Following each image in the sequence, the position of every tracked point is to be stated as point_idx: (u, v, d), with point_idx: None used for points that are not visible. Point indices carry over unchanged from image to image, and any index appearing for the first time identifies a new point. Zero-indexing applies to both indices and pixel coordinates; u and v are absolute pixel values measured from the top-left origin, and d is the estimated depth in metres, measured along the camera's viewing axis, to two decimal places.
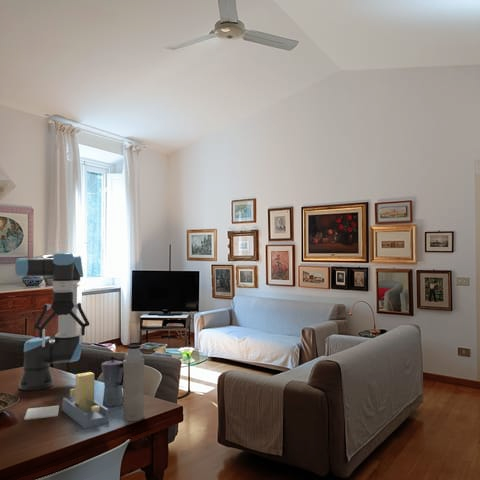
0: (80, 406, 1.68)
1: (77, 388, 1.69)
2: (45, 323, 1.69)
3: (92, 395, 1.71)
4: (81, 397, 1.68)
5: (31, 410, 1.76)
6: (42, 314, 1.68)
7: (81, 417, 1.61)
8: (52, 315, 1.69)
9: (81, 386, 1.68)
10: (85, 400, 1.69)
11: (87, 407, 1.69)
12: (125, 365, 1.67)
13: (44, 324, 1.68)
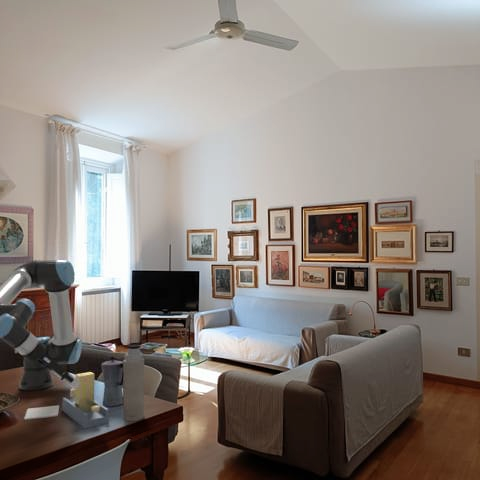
0: (80, 406, 1.68)
1: (77, 388, 1.69)
2: None
3: (92, 395, 1.71)
4: (81, 397, 1.68)
5: (31, 410, 1.76)
6: None
7: (81, 417, 1.61)
8: None
9: (81, 386, 1.68)
10: (85, 400, 1.69)
11: (87, 407, 1.69)
12: (125, 365, 1.67)
13: None
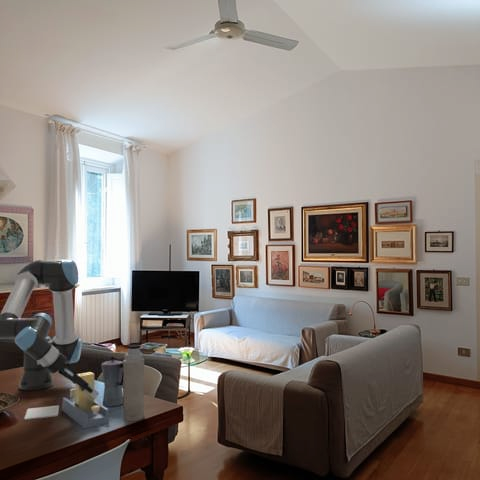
0: (80, 406, 1.68)
1: (77, 388, 1.69)
2: (72, 381, 1.71)
3: None
4: (81, 397, 1.68)
5: (31, 410, 1.76)
6: None
7: (81, 417, 1.61)
8: None
9: None
10: (85, 400, 1.69)
11: (87, 407, 1.69)
12: (125, 365, 1.67)
13: (73, 382, 1.71)
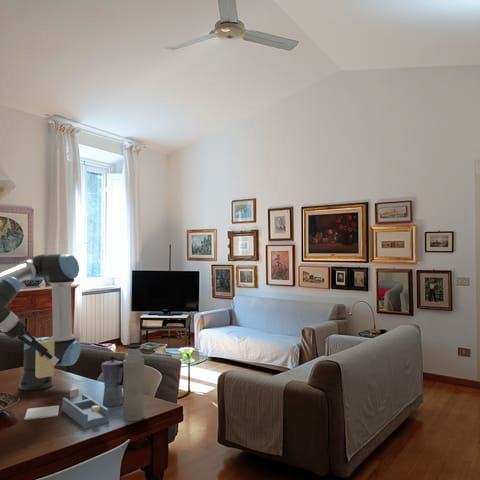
0: (39, 372, 1.72)
1: (37, 354, 1.73)
2: (33, 348, 1.75)
3: None
4: (41, 363, 1.73)
5: (31, 410, 1.76)
6: None
7: (81, 417, 1.61)
8: (26, 343, 1.73)
9: None
10: (44, 366, 1.73)
11: (46, 373, 1.74)
12: (125, 365, 1.67)
13: (34, 349, 1.76)
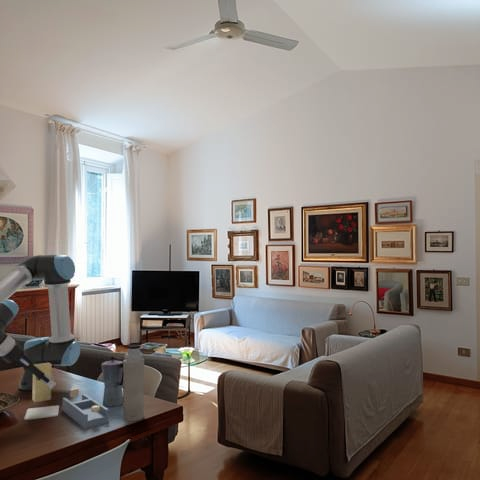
0: (36, 396, 1.71)
1: (34, 378, 1.72)
2: None
3: None
4: (38, 386, 1.72)
5: (31, 410, 1.76)
6: (22, 365, 1.75)
7: (81, 417, 1.61)
8: None
9: None
10: (41, 389, 1.72)
11: (43, 397, 1.73)
12: (125, 365, 1.67)
13: (31, 372, 1.75)
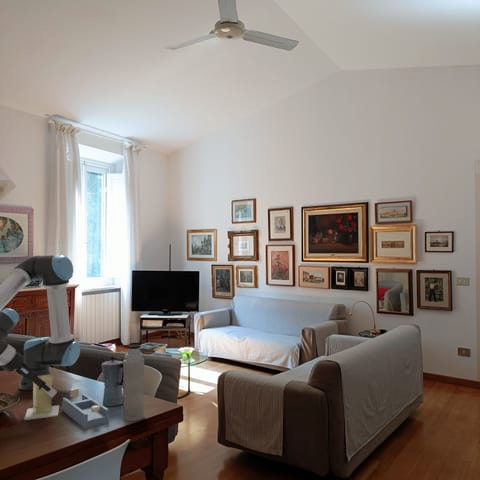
0: (37, 408, 1.71)
1: (34, 390, 1.73)
2: None
3: (49, 397, 1.75)
4: (38, 399, 1.72)
5: (31, 410, 1.76)
6: None
7: (81, 417, 1.61)
8: None
9: None
10: (42, 402, 1.73)
11: (44, 409, 1.73)
12: (125, 365, 1.67)
13: None
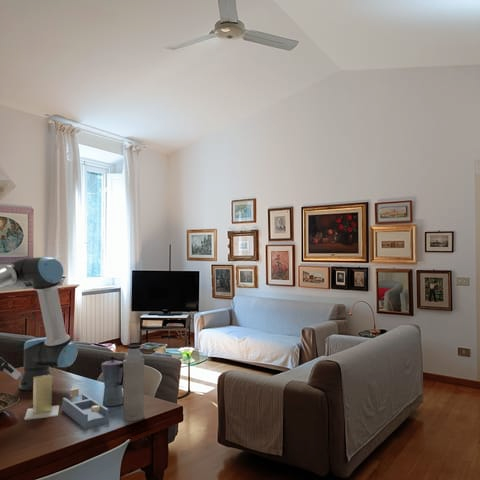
0: (37, 408, 1.71)
1: (34, 390, 1.73)
2: None
3: (49, 397, 1.75)
4: (38, 399, 1.72)
5: (31, 410, 1.76)
6: None
7: (81, 417, 1.61)
8: None
9: (38, 388, 1.72)
10: (42, 402, 1.73)
11: (44, 409, 1.73)
12: (125, 365, 1.67)
13: None
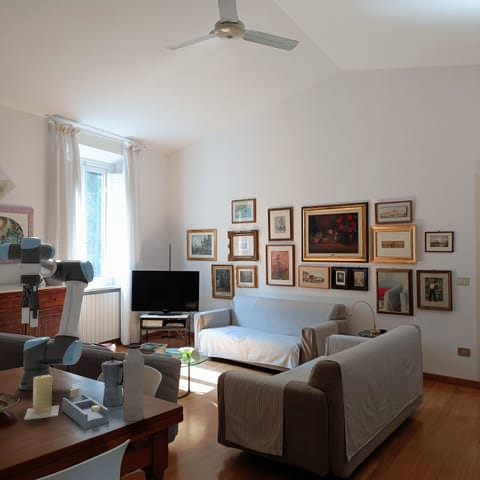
0: (37, 408, 1.71)
1: (34, 390, 1.73)
2: (23, 302, 1.85)
3: (49, 397, 1.75)
4: (38, 399, 1.72)
5: (31, 410, 1.76)
6: (22, 293, 1.86)
7: (81, 417, 1.61)
8: (24, 295, 1.83)
9: (38, 388, 1.72)
10: (42, 402, 1.73)
11: (44, 409, 1.73)
12: (125, 365, 1.67)
13: (22, 303, 1.85)
